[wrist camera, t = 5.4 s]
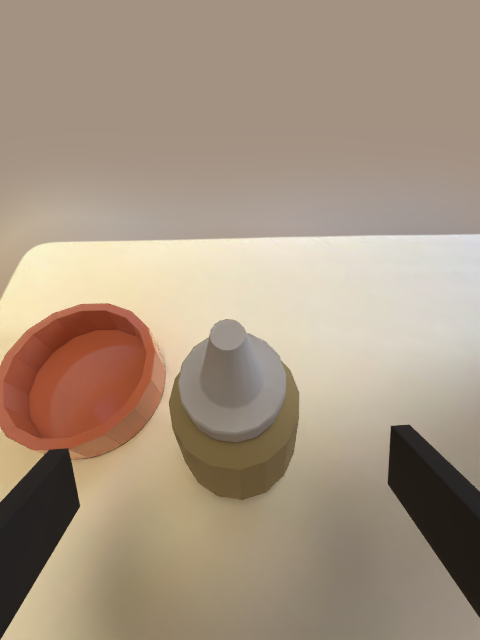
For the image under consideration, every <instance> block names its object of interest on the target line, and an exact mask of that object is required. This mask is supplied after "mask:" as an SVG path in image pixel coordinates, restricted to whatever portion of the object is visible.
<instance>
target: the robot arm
mask: <svg viewBox="0 0 480 640" xmlns="http://www.w3.org/2000/svg"><path fill="white" fill-rule="evenodd" d="M388 485H389V486H390V488H391V489H392V491H393V492H394V494H395V495H396V496H397V498H398V499H399V501H400V502H401V504H402V505H403V507H404V508H405V510H406V511H407V513H408V514H409V515H410V517H411V518H412V520H413V521H414V523H415V524H416V526H417V527H418V529H419V530H420V531H421V533H422V534H423V536H424V537H425V539H426V540H427V542H428V543H429V545H430V546H431V547H432V549H433V550H434V552H435V553H436V555H437V556H438V558H439V559H440V561H441V562H442V564H443V565H444V566H445V568H446V569H447V571H448V572H449V574H450V575H451V577H452V578H453V580H454V581H455V582H456V584H457V585H458V587H459V588H460V590H461V591H462V593H463V594H464V596H465V597H466V598H467V600H468V601H469V603H470V604H471V606H472V607H473V609H474V610H475V612H476V613H477V615H478V616H479V617H480V491H478V490H477V489H476V488H475V487H474V486H473V485H472V484H471V483H470V482H469V481H468V480H467V479H466V478H465V477H464V476H463V475H462V474H461V473H460V472H459V471H457V470H456V469H455V468H454V467H453V466H452V465H451V464H450V463H449V462H448V461H447V460H446V459H445V458H444V457H443V456H442V455H441V454H440V453H439V452H438V451H436V450H435V449H434V448H433V447H432V446H431V445H430V444H429V443H428V442H427V441H426V440H425V439H424V438H423V437H422V436H421V435H420V434H419V433H418V432H416V431H415V430H414V429H413V428H412V427H411V426H410V425H398V426H391V434H390V453H389V472H388ZM79 507H80V503H79V498H78V493H77V488H76V483H75V478H74V473H73V468H72V463H71V458H70V453H69V448H64V449H50V450H49V451H48V452H47V453H46V454H45V455H44V456H43V457H42V458H41V459H40V460H39V461H38V462H37V463H36V465H35V466H34V467H33V468H32V469H31V470H30V471H29V472H28V473H27V474H26V475H25V476H24V478H23V479H22V480H21V481H20V482H19V483H18V484H17V485H16V486H15V487H14V488H13V489H12V490H11V492H10V493H9V494H8V495H7V496H6V497H5V498H4V499H3V500H2V501H1V502H0V640H1V638H2V636H3V635H4V633H5V631H6V630H7V628H8V626H9V625H10V623H11V621H12V619H13V618H14V616H15V614H16V613H17V611H18V609H19V608H20V606H21V604H22V603H23V601H24V599H25V598H26V596H27V594H28V593H29V591H30V589H31V588H32V586H33V584H34V583H35V581H36V579H37V578H38V576H39V574H40V573H41V571H42V569H43V568H44V566H45V564H46V562H47V561H48V559H49V557H50V556H51V554H52V552H53V551H54V549H55V547H56V546H57V544H58V542H59V541H60V539H61V537H62V536H63V534H64V532H65V531H66V529H67V527H68V526H69V524H70V522H71V521H72V519H73V517H74V516H75V514H76V512H77V511H78V509H79Z"/></svg>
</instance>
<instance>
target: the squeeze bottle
mask: <svg viewBox="0 0 480 640" xmlns="http://www.w3.org/2000/svg"><path fill="white" fill-rule="evenodd" d="M169 407H170V414H171V420H172V427H173V430H174V433H175V436H176V438H177V441H178V444H179V446H180V449H181V451H182V454H183V457H184V459H185V462H186V464H187V465H188V467H189V468H190V470H191V472H192V473H193V475H194V476H195V478H196V480H197V481H198V483H200V484H201V485H203V486H204V487H206V488H207V489H209V490H210V491H212V492H213V493H215V494H216V495H218V496H221V497H228V498H235V499H242V500H243V499H246V498H249V497H252V496H255V495H258V494H261V493H264V492H266V491H268V490H269V489H270V488H271V487H272V486H273V485H274V484H275V483H276V482H277V481H278V480H279V479H280V478H282V477H283V476H284V474H285V471H286V469H287V467H288V465H289V462H290V460H291V458H292V456H293V453H294V446H295V440H296V433H297V426H298V419H299V391H298V389H297V386H296V384H295V381H294V379H293V376H292V374H291V371H290V369H289V368H288V367H287V366H286V365H285V364H284V363H283V362H282V361H281V359H280V356H279V355H278V354H277V353H276V352H275V351H274V350H273V349H272V348H271V346H270V345H269V344H268V343H267V342H265V341H263V340H261V339H259V338H257V337H255V336H253V335H251V334H249V333H246V331H245V329H244V327H243V326H242V325H241V324H240V323H239V322H237V321H235V320H229V319H226V320H222V321H219V322H218V323H216V324H214V326H213V327H212V329H211V331H210V336H209V338H207V339H205V340H204V341H202V342H201V343H199V344H198V345H196V346H195V347H194V348H193V349H192V351H191V352H190V353H189V355H188V356H187V357H186V359H185V360H184V362H183V363H182V367H181V371H180V373H179V374H178V375H177V377H176V378H175V381H174V385H173V389H172V393H171V397H170V401H169Z"/></svg>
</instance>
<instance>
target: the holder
mask: <svg viewBox="0 0 480 640" xmlns="http://www.w3.org/2000/svg"><path fill="white" fill-rule="evenodd" d="M164 384H165V366H164V362H163V358H162V356H161V354H160V351H159V348H158V345H157V343H156V341H155V339H154V338H153V336H152V334H151V332H150V330H149V328H148V327H147V326H146V325H145V324H144V323H143V322H142V321H141V320H140V319H139V318H138V317H137V316H136V315H135V314H134V313H133V312H131V311H129V310H126V309H123V308H120V307H117V306H114V305H111V304H80V305H77V306H74V307H71V308H68V309H65V310H62V311H59V312H56V313H54V314H51V315H50V316H48V317H47V318H45V319H44V320H42V321H41V322H39V323H38V324H36V325H34V326H33V327H31V328H30V329H28V330H27V331H26V332H25V333H24V334H23V336H22V337H21V338H20V339H19V340H18V341H17V342H16V343H15V344H14V346H13V347H12V348H11V349H10V350H9V351H8V352H7V353H6V355H5V357H4V359H3V361H2V363H1V366H0V427H1V428H2V430H3V432H4V434H5V435H6V436H7V437H8V438H10V439H12V440H14V441H16V442H18V443H20V444H22V445H24V446H26V447H28V448H30V449H32V450H34V451H37V452H40V453H44V454H46V453H47V452H48V451H49V450H50V449H64V448H69V453H70V458H71V459H83V458H90V457H95V456H99V455H102V454H104V453H107V452H110V451H112V450H114V449H116V448H118V447H119V446H121V445H122V444H124V443H126V442H127V441H128V440H130V439H131V438H132V437H133V436H135V435H136V434H137V433H138V432H139V431H140V430H141V429H142V428H143V427H144V426H145V424H146V423H147V422H148V421H149V419H150V418H151V416H152V415H153V413H154V412H155V410H156V408H157V406H158V404H159V402H160V399H161V396H162V393H163V389H164Z"/></svg>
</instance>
